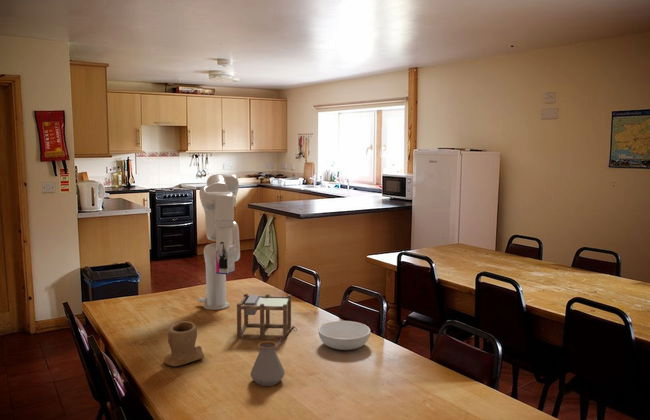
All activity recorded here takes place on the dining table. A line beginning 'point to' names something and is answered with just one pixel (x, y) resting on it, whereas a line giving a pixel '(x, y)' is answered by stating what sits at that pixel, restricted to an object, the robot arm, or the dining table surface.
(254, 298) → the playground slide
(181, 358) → the stone cup
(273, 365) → the coffee pot
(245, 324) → the stand
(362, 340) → the serving bowl
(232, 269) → the supplement box
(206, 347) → the dining table surface
